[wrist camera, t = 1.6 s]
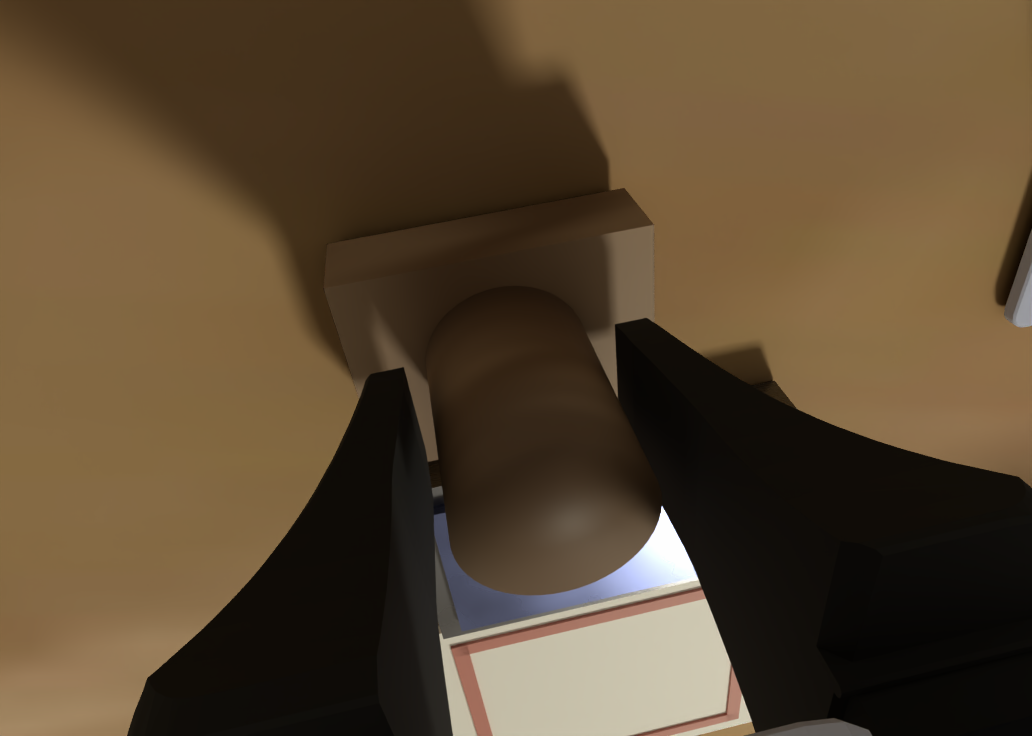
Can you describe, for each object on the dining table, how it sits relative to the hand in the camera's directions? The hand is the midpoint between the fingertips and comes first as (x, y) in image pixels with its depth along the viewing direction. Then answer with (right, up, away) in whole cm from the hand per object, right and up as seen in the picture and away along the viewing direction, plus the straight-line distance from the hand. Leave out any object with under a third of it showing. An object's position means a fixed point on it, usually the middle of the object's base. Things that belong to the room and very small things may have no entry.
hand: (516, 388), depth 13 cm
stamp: (-1, +2, +3) cm, 3 cm away
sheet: (+3, -11, +12) cm, 17 cm away
